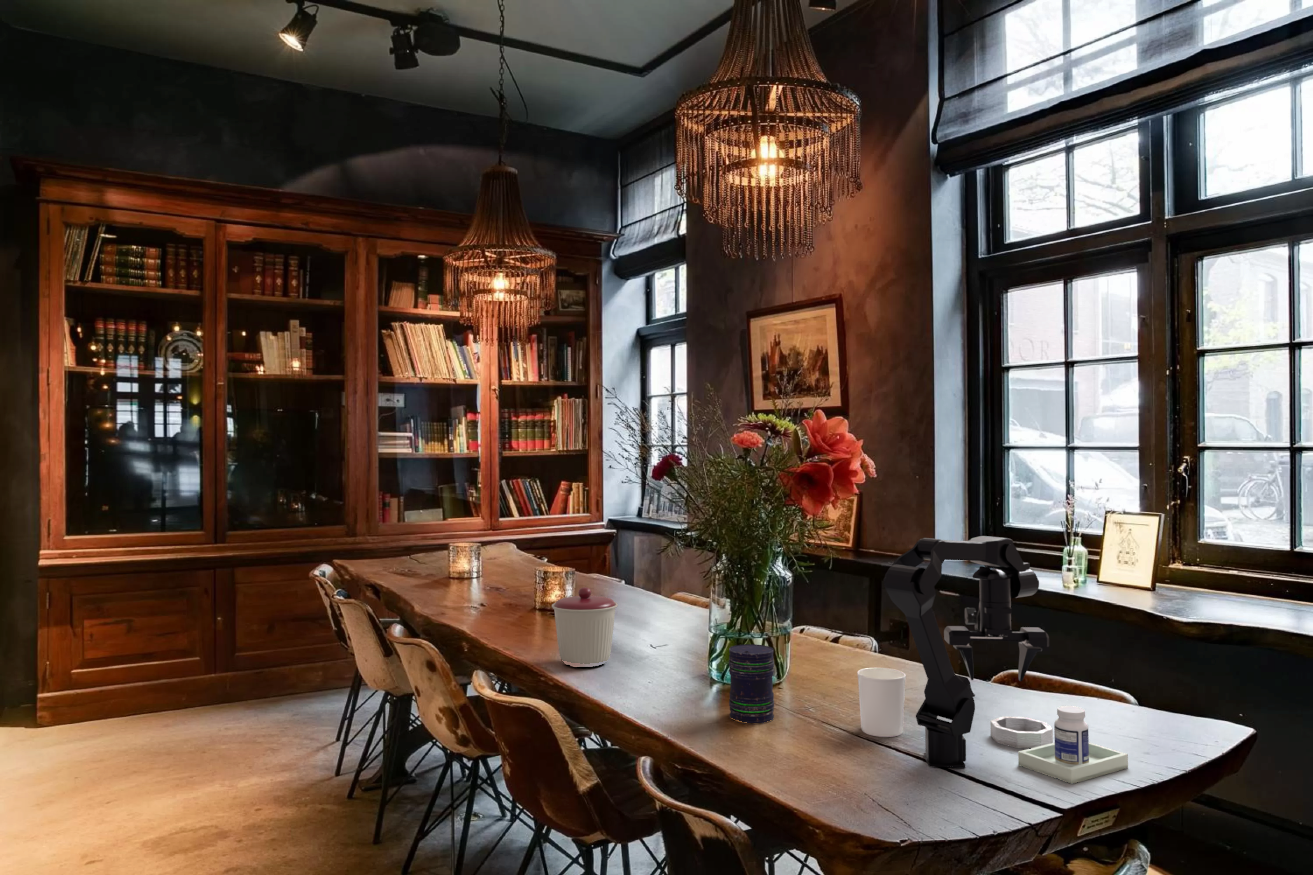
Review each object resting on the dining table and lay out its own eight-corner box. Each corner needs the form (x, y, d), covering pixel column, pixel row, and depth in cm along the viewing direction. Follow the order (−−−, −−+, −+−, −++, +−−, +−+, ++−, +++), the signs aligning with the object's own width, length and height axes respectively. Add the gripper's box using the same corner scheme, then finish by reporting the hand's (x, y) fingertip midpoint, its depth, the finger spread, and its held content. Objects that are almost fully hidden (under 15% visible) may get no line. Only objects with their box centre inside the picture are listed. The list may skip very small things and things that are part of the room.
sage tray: (1071, 784, 156) (1071, 769, 156) (1018, 764, 166) (1018, 751, 166) (1128, 767, 164) (1127, 753, 164) (1074, 750, 174) (1073, 737, 174)
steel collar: (1000, 747, 176) (1000, 732, 176) (986, 730, 187) (986, 715, 187) (1058, 749, 175) (1057, 733, 175) (1040, 731, 185) (1040, 717, 185)
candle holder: (848, 727, 189) (847, 670, 189) (886, 721, 193) (885, 665, 193) (877, 740, 180) (876, 680, 180) (916, 734, 184) (916, 675, 184)
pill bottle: (1075, 756, 168) (1075, 703, 168) (1095, 767, 163) (1095, 712, 163) (1048, 758, 167) (1047, 705, 167) (1067, 769, 162) (1066, 714, 162)
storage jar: (738, 708, 203) (738, 642, 204) (780, 714, 199) (779, 646, 199) (722, 720, 194) (721, 651, 195) (765, 726, 190) (765, 655, 190)
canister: (538, 663, 247) (538, 587, 248) (590, 653, 260) (590, 580, 260) (578, 675, 234) (578, 594, 234) (631, 664, 246) (631, 587, 246)
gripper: (1032, 594, 184) (1033, 671, 183) (938, 593, 186) (939, 669, 186) (1049, 603, 173) (1050, 685, 172) (949, 602, 175) (950, 683, 175)
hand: (996, 680), depth 177 cm, fingers open, 9 cm apart
